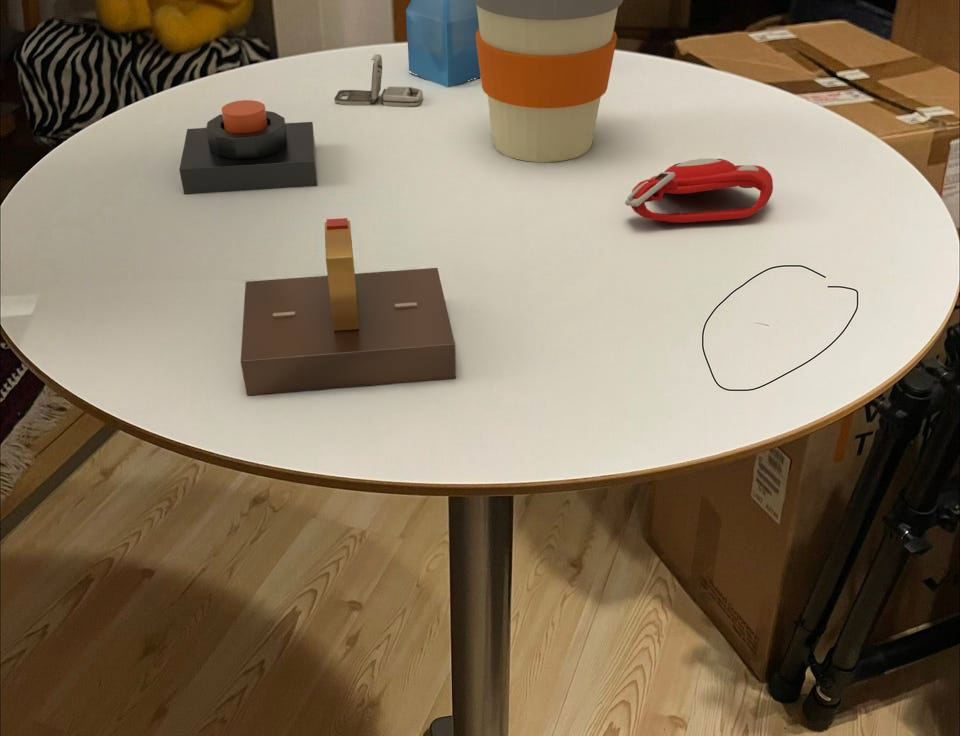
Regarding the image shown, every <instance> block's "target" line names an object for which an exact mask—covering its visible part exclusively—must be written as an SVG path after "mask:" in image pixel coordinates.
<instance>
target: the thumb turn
mask: <svg viewBox="0 0 960 736" xmlns="http://www.w3.org/2000/svg"><path fill="white" fill-rule="evenodd" d="M351 227H352V226H351V220H349V219H348V217H343V218H328V219H326V221H325V222H324V247H325V249H324V250H325V251H324V252H325V264H326V273H327V275H326V276H328V284H329V293H330V302H331V311H332V320H333V329H334V331H341V330H355V329H359V317H358V304H357V292H356V281H355V274H356V272H355V260H354V248H353V238H352V228H351Z"/></svg>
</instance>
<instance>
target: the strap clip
mask: <svg viewBox="0 0 960 736" xmlns="http://www.w3.org/2000/svg"><path fill="white" fill-rule="evenodd" d="M370 61H373V64H372V73H371V74H372V75H371V88H370V89H371V90H364V89H363V90H361V89H341V90H338V92H337V93H336V95H335V96H334V102H335V103H337V104H339V105H340V104H341V105H344V106H370V105H371V104H374V102H376V101H377V100H378V97H379V95H380V99H381V100H380V104H381V105H382V104H383V106H384V107H402V108H409V107H415V106H419V105H420V103H421V101H422V99H423V90H422V89H420V88H417V87H414V86H413V87H412V86H387V87H386V88H383V90H382V92H381V88H382V78H383V76H382V75H383V59H382V54H374V55H372V57H371V59H370ZM380 92H381V94H380ZM342 96H347V97H346V98H342Z"/></svg>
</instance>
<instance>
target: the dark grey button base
mask: <svg viewBox="0 0 960 736" xmlns="http://www.w3.org/2000/svg"><path fill="white" fill-rule="evenodd" d="M266 117H267V125H268V126H267V127H266V128H264V129H263V130H259V131H256V132H252V133H233V132H227V131H225V128H224V122H223V116H222V113H221V114H218V115H217V116H216V115H215V117H213V118H212V119H210V120H209V121H207V123H206V127H196V128H195V127H193V128H187V129H186V133H185V134H186V135H185V140H184V145H183V150H182V154H181V158H180V164H179V175H180V180H181V185H182V189H183V195H199V194H214V193H230V192H244V191H245V192H247V191H260V190H261V191H262V190H277V189H292V188H294V189H295V188H309V187H317V186H318V174H317V154H316V141H315V133H314V131H315V130H314V125H313V121H302V122H286V119H285V117H283V116H282V115H280V114H278V113H277V112H275V111H269V110H266Z"/></svg>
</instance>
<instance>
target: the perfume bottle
mask: <svg viewBox="0 0 960 736" xmlns="http://www.w3.org/2000/svg"><path fill="white" fill-rule="evenodd" d="M405 15H406V37H407V55H408V56H407V57H408V59H407V60H408V72H409V71H411V72H412V73H414V74H417V75H418V76H420V77H423V78H425V79H424V80H426V79H427V80H426V81H428V80H429V81H428V82H432V83H435V84H437V85H440V86H442V87H445V88H452V87H455V86H458V84H459V85H461V84H460V83H462V84H465V83H467V82H466V81H468V80H471V79H474V78H478V79H480V78H479V77H481V76H480V68H479V60H478V52H477V44H476V32H477V31H478V30H479V21H478V13H477V5H476V4H474V2H473V0H410V2H409V4H408V6H407V8H406V10H405ZM418 76H417V77H418ZM420 77H419V78H420ZM423 78H422V79H423ZM471 81H472V80H471ZM464 82H465V83H464ZM468 82H469V81H468Z"/></svg>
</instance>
